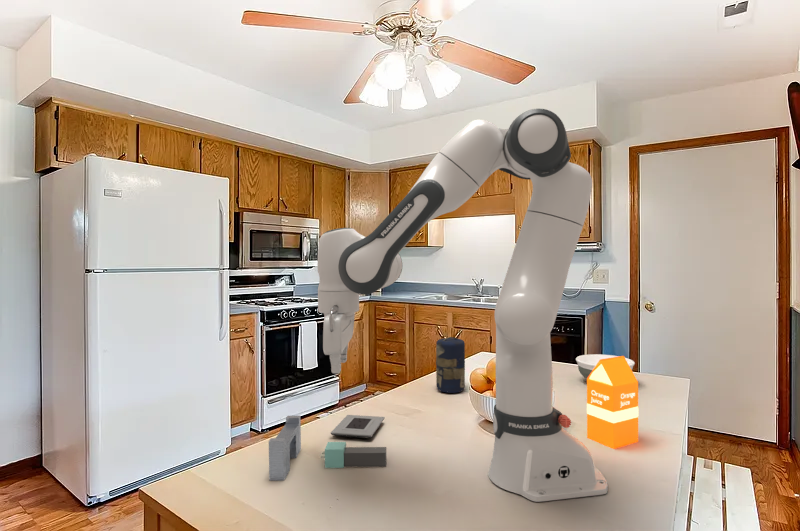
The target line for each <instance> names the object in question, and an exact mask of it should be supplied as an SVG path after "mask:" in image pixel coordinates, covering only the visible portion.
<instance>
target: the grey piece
mask: <svg viewBox="0 0 800 531" xmlns="http://www.w3.org/2000/svg"><path fill="white" fill-rule="evenodd" d="M301 422H302V421H301V415H286V417H285V423H284V426H283V427H282V428H281V430H280V431H279V433H278V434H277V436H276V437H274V438H273V437H272V438H270V439H269V440H268V473H269V474H268V475H269V476H268V479H269V480H268V481H285V480H286V478H287V476H288V475H289V472H290V471H291V459H297V458H298V456H299V454H300V452H301V450H302V440H301V439H302V436H301V435H302V432H301V431H302V428H301Z"/></svg>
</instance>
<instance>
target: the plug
mask: <svg viewBox="0 0 800 531" xmlns="http://www.w3.org/2000/svg"><path fill="white" fill-rule="evenodd" d="M319 459H324V469H336V468H337V469H344V468H348V467H349V468H352V467H355V468H358V467H361V468H363V467H364V468H367V467H369V468H370V467H371V468H373V467H374V468H375V467H378V468H379V467H382V468H383V467H387V446H356V447H355V446H353V447H352V446H351V447H350V446H349V447H348V446H347V442H346V441H327V443H326V446H325V448H324V450H322V451H321V454H320V455H319Z"/></svg>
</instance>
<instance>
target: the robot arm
mask: <svg viewBox="0 0 800 531" xmlns="http://www.w3.org/2000/svg"><path fill="white" fill-rule="evenodd" d="M570 149H571V148H570V144H569V140H568V135H567V130H566V127H565V124H564V123H563V121H562V119H561V118H560V117H559V116H558V115H557V114H556V113H555V112H553V111H551V110H550V109H549V110H548V109H546V108H532V109H529V110H526V111H523V112H522V113H520V114H519V115H518V116H517V117H516V118H515V119H514V120H513V121H512V122H511V124H510V125H509V127H508V128H506V129H503V128H500V127H498V126H497V125H496V124H494V123H493V122H491V121H489V120H487V119H482V118H479V119H478V118H477V119H473V120H471V121H469V122H468V123H467V124H466V125H465V126H463V127H462V128H461V129H460V130H459V131H457V132H456V133H455V134H454V135H453V136H452V137H451V138H450V139H449V140H448V141H447V142H446V144H444V145H443V146H442V148H441V149H440V150H439V151H438V152H437V153H436V155H435V156H434V157H433V159H432V160H431V161H430V162H429V163H428V165H427V166H426V167H425V169H424V170H423V172H422V173H421V175H420V176H419V178H418V179H417V180H416V182H415V184H413V186H412V187H411V188H410V190H409V192H407V194H406V195H405V196H404V197H403V199H401V201H399V203H398V204H397V205H396V206H395V207H394V208H393V209H392V210H391V211H390V213H389V214H388V215H387V216H386V217H384V219H383V220H382V222H380V224H378V226H377V227H376V228H375V229H374V230H372V232H371V233H370V234H368V235H367V236H364V235H363V234H361V233H359V232H358V231H357V230H356V229H355V228H354V227H353V228H352V227H340V228H335V229H330V230H328V231H324V232H323V233H322V235H320V238H319V242H318V248H317V273H318V277H319V282H318V283H319V284H318V287H317V309H318V310H317V311H318V313H321V314H323V316H324V317H323V319H324V320H323V325H322V326H323V327H322V328H323V330H322V350H323V354H324V355H325V356H329V362H330V367H331V368H330V370H331V373H332V374H339V373H341V371H342V364H344V363H346V362H347V360H348V349H349V343H350V341H351V340H352V338H353V336H354V328H355V316H356V315H355V314H356V313H357V312H359V311H360V295H370V294H373V293H375V292H377V291H379V290H380V289H384V288H386V287H389V286H391V285H392V284H394V283H395V282H396V281H398V279H399V278H400V276H401V274H402V271H403V260H402V257H401V254H400V252H401V251H402V250H403V249H404V248H405V247H406V246H407V244H408V243H409V242H410V241H411V240H412V239H413V238H414V236H416V235H417V233H418V232H419V231H420V230H421V229H422V228H423V227H425V225H426V224H428V223H429V222H431V221H432V220H434V219H436V218H438V217H439V216H442V215H445V214H448V213H452V212H455V211H456V210H458V208H460V207H461V206H463V205H464V204H465V203H466V202H468V200H469V199H470V198H471V197H472V196H474V195H475V194H476V193H477V191H479V189H480V188H481V187H482V185H483V184H484V183H485V182H486V181H487V179H488V178H489V177H490V176H491V175H493V173H494V172H496V171H498V170H499V171H502V172H504V173H506V174H509V175H511V176H513V177H515V178H517V179H518V178H519V179H522V180H530V181H531V184H532V193H531V197H530V200H529V204H528V206H527V209H526V212H525V215H524V218H523V222H522V225H521V226H520V227H521V228H520V231H519V234H518V237H517V239H516V243H515V245H514V250H513V252H512V255H511V259H510V262H509V264H508V267H507V271H506V273H505V276H504V280H503V283H502V287H501V289H500V292H499V295H498V298H497V300H496V304H495V308H494V321H495V404H494V406H493V413H492V415H493V416H492V418H493V420H492V421H493V422H492V423H493V424H492V425H493V426H492V428H493V434H494V443H493V451H492V452H493V453H492V456H491V457H492V458H491V462H490V465H489V470H488V472H487V475H488V478H489V480H490V481H491V482H492V483H493V484H494V485H496V486H497V487H498V488H501V489H502V490H506V491H507V492H511V493H515V494H516V495H517V494H518V495H520V496H523V497H524V498H526V499H528V500H530V501H532V502H537V503H538V502H539V503H541V502H548V501H556V500H557V501H558V500H565V499H576V498H583V497H591V496H602V495H605V494H607V493H608V490H609V488H608V487H609V486H608V481H607V478H606V477H605V476H604V474H603V473H602V472H601V471H600V470H599V469H598V468H597V467H596V466H595V463H594V460H593V457H592V454H591V452H590V450H589V449H588V448H587V446H585V444H584V443H583V442H581V440H579V439H578V438H577V437H576V436H575V435H573V434H572V433H570V432H569V431H568V430H566V429H565V428H570V426H571V425H572V420H571V419H570V417H569V416H567V415H566V414H563V413H562V412H561V411H560V410H559V409H556V408H555V407H554V406H553V404H554V402H553V400H554V398H553V394H554V392H553V390H554V389H553V387H554V386H553V384H554V382H553V380H554V378H553V363H552V362H553V361H552V360H553V359H552V346H551V344H552V342H551V332H552V330H553V327H554V325H555V323H556V319H557V316H558V312H559V309H560V304H561V302H562V298H563V294H564V290H565V285H566V282H567V278H568V275H569V270H570V266H571V263H572V260H573V257H574V254H575V252H576V249H577V246H578V243H579V240H580V236H581V234H582V231H583V227H584V224H585V221H586V218H587V215H588V210H589V206H590V202H591V195H592V188H593V179H592V176H591V174H590V172H589V171H588V170H587V169H586V168H584V167H583V166H581V165H579V164H577V163H573V162H570V160H571V157H572V153H571V150H570Z"/></svg>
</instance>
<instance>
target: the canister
mask: <svg viewBox="0 0 800 531" xmlns="http://www.w3.org/2000/svg"><path fill="white" fill-rule="evenodd" d="M465 344H466V343H465V341H464V340H463V339H460V338H458V337H454V336H449V337H446V338H440V339H438V340H437V341H436V344H435V348H436V349H435V350H436V351H435V353H436V356H435V357H436V358H435V359H436V360H435V365H436V373H435V374H436V375H435V376H436V378H435V379H436V380H435V383H436V389H437V390H438V391H440V392H441V393H442V392H443V393H448V394H450V393H451V394H452V393H453V394H456V393H461V392H463V391H464V390H465V388H466V387H465V386H466V385H465V384H466V382H465V380H466V378H465V377H466V376H465V375H466V374H465V372H466V371H465V370H466V369H465V368H466V364H465V363H466V358H465V357H466V356H465V355H466V354H465V353H466V350H465V349H466V345H465Z"/></svg>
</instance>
